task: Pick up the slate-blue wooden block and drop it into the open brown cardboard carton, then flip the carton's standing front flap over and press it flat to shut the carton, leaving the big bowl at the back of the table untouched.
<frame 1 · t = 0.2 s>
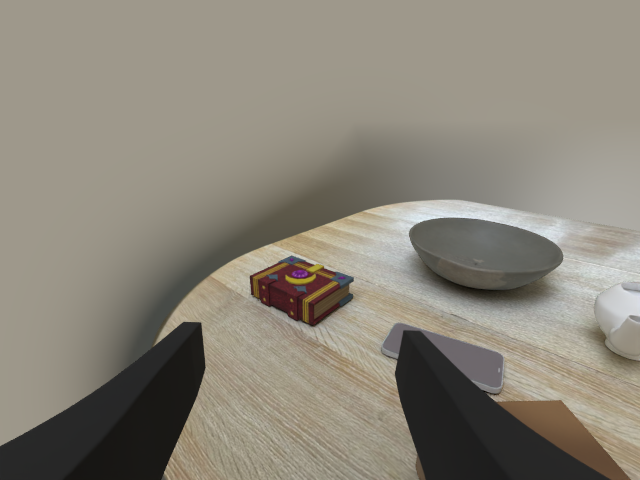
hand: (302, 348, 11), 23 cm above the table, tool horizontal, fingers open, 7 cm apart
smartphone: (440, 357, 44), on the table
decorative book: (298, 298, 59), on the table
bowl: (472, 275, 67), on the table
teapot: (624, 350, 46), on the table
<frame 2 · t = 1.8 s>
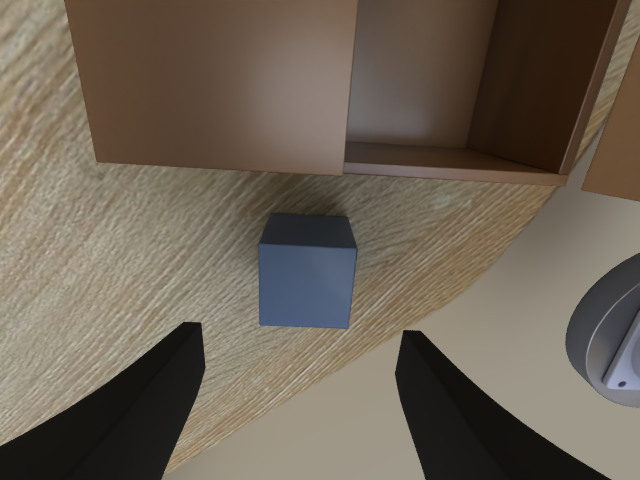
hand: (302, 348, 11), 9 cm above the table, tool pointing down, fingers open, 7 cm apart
block: (307, 250, 19), on the table
carton: (341, 16, 15), on the table
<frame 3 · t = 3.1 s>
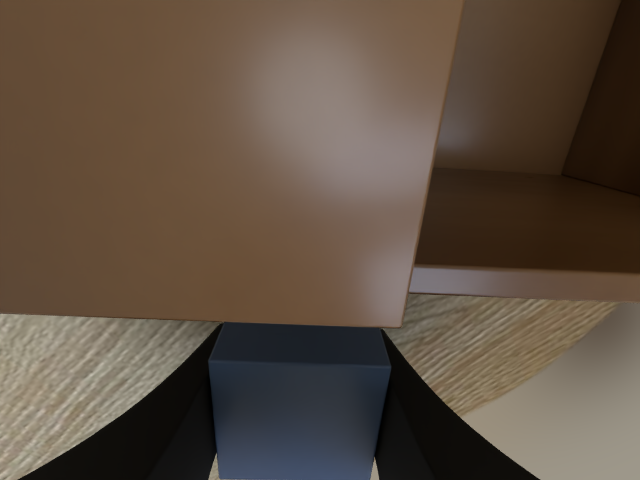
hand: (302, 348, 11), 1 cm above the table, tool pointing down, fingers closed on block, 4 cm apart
block: (302, 324, 13), on the table, touching gripper
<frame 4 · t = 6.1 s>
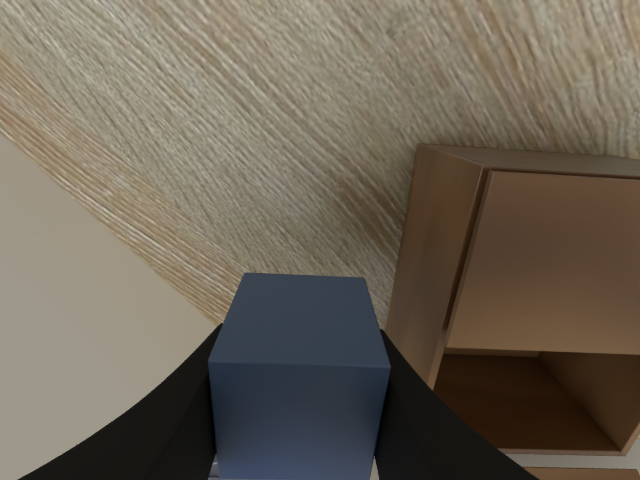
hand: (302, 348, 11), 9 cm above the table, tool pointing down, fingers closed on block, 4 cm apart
block: (302, 324, 13), point 8 cm above the table, touching gripper
carton: (486, 266, 21), on the table
when the fingers open (6 cm above the table, at t = 9.0 s): block drops 5 cm, resting on carton.
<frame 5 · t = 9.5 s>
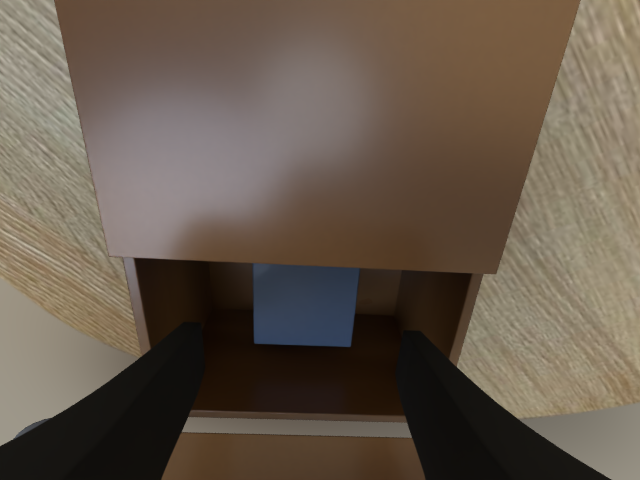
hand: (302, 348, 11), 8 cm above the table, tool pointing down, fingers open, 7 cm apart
block: (306, 259, 18), resting on carton
carton: (309, 197, 17), on the table
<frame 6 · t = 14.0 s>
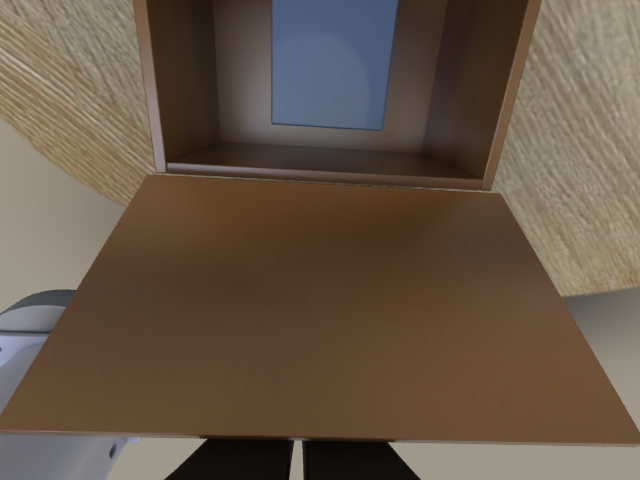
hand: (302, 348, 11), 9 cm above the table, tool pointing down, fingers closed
flap: (329, 276, 8), point 11 cm above the table, hinge at 115.1°
block: (326, 75, 16), resting on carton
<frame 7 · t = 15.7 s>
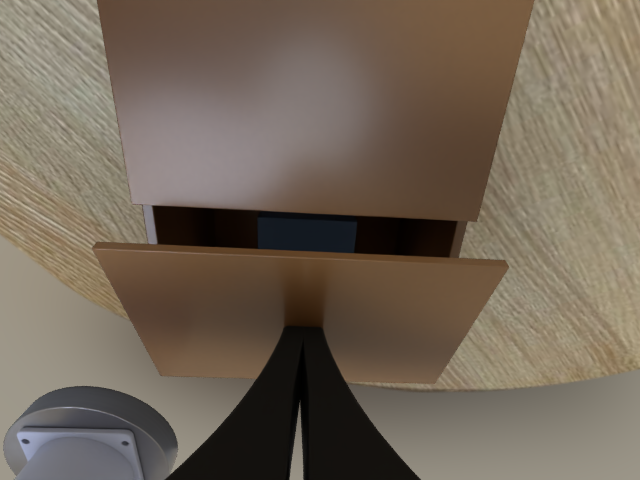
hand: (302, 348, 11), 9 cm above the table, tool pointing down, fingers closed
flap: (302, 328, 11), point 9 cm above the table, hinge at 18.1°, touching gripper
block: (307, 230, 19), resting on carton
carton: (310, 171, 18), on the table
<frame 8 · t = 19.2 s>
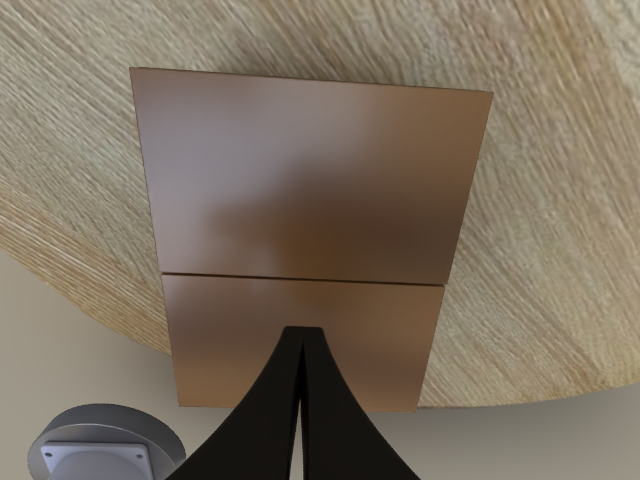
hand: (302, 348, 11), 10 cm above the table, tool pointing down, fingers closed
flap: (302, 349, 15), point 8 cm above the table, hinge at -0.6°
carton: (308, 217, 21), on the table
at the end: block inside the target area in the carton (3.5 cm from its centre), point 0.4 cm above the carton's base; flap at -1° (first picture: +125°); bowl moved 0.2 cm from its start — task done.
